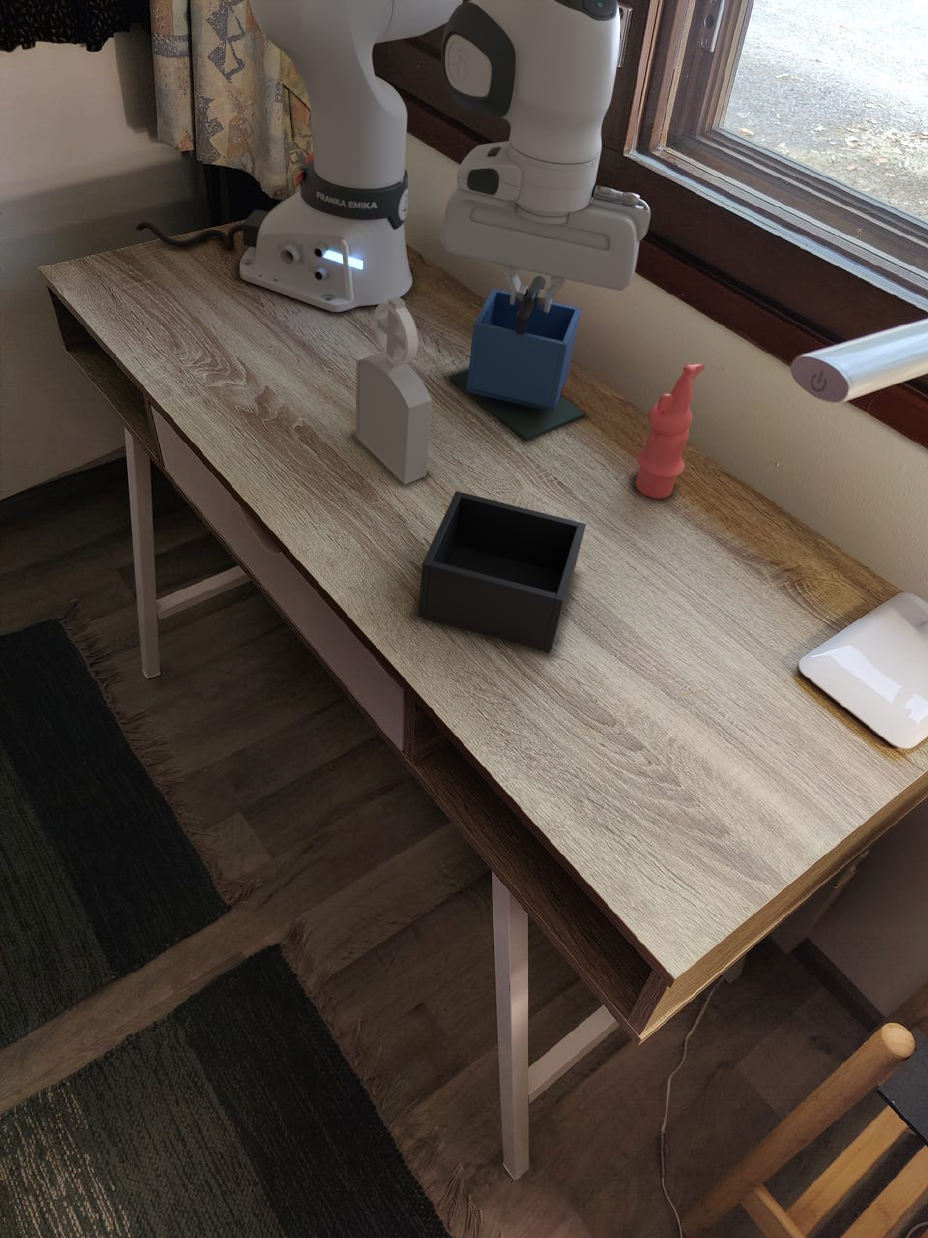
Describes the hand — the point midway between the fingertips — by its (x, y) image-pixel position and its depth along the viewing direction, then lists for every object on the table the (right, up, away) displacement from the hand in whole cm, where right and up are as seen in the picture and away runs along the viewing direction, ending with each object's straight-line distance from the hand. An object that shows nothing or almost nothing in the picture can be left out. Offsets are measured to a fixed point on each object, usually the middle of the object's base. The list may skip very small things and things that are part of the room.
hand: (529, 306), depth 103 cm
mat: (-1, -8, +8) cm, 12 cm away
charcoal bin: (-4, -31, -14) cm, 35 cm away
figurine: (+13, -19, 0) cm, 24 cm away
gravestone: (-15, -16, -1) cm, 22 cm away
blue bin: (-1, -6, +7) cm, 10 cm away
